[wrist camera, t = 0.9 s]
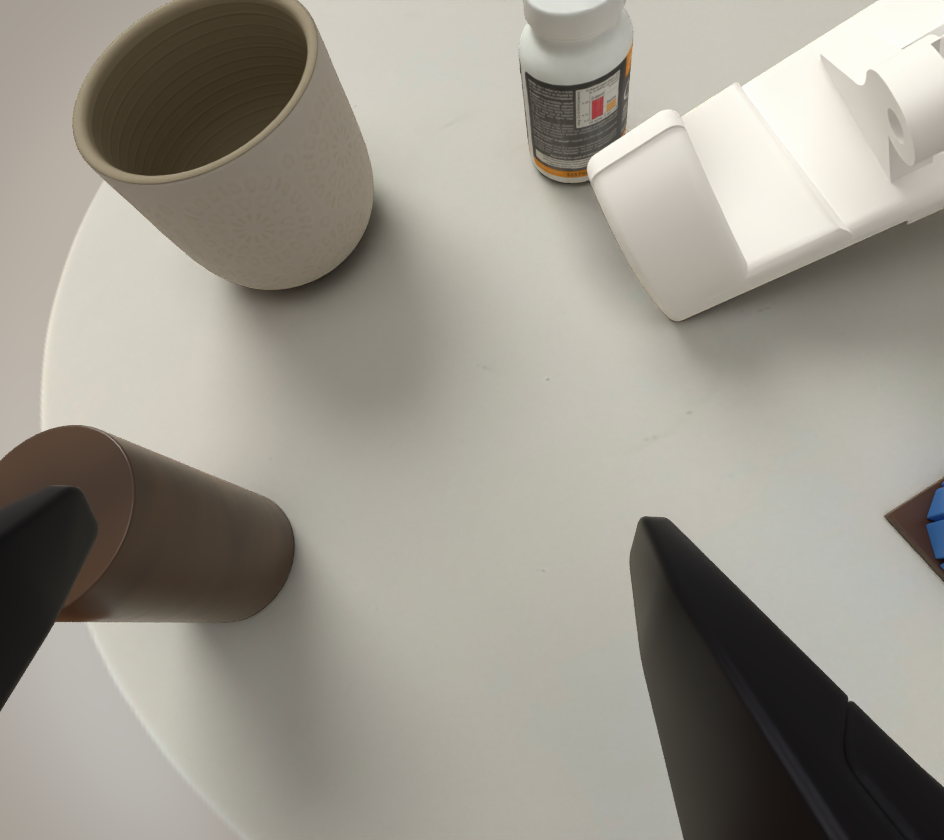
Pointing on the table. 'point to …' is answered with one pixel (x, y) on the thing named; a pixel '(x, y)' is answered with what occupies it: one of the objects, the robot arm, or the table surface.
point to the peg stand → (918, 524)
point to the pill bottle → (574, 81)
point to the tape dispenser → (783, 162)
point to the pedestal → (156, 531)
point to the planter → (231, 138)
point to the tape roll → (937, 524)
